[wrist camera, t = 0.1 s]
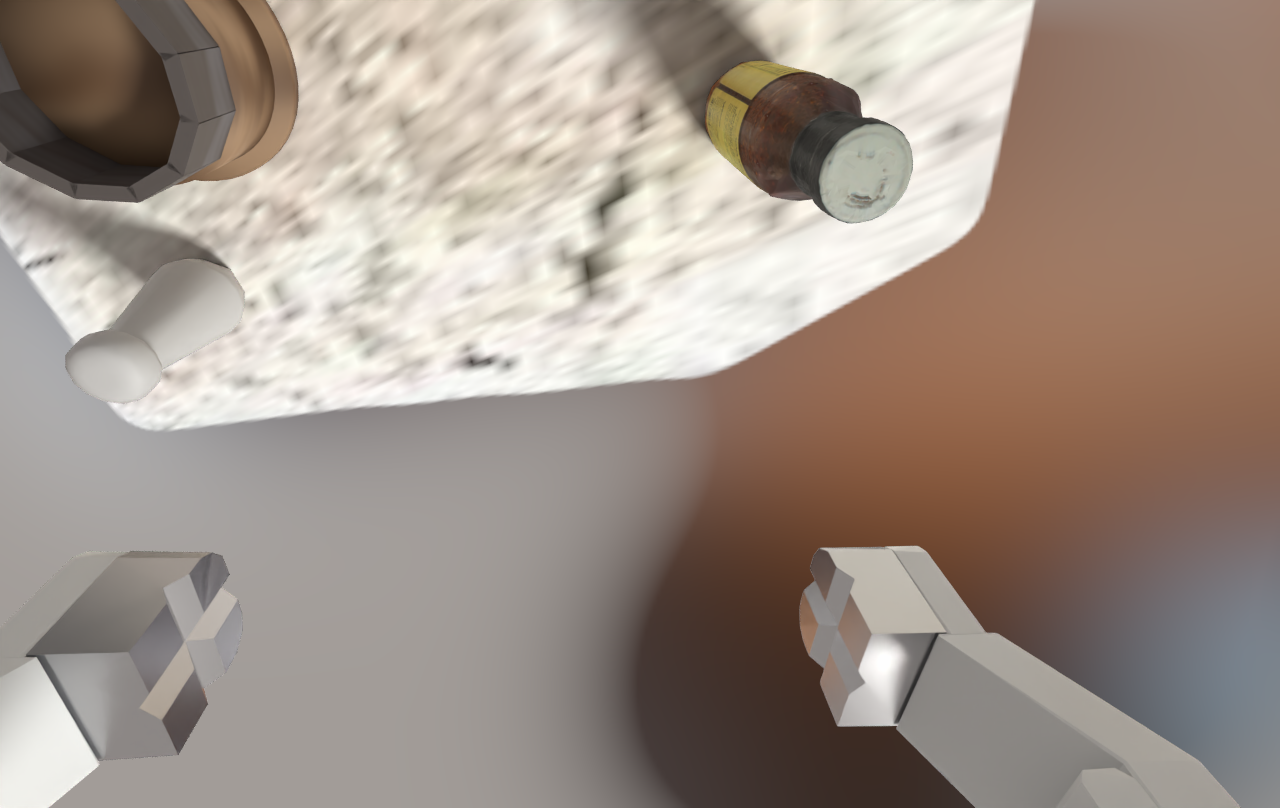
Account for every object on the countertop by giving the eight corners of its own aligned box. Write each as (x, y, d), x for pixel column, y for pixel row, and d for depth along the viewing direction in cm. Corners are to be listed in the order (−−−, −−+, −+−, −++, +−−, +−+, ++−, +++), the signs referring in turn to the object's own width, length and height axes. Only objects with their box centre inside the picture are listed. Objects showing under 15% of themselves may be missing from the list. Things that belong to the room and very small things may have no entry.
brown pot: (-14, -105, 32) (-216, -136, 24) (267, -74, 34) (168, -92, 26) (95, 169, 40) (-29, 217, 32) (319, 184, 42) (256, 232, 34)
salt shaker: (228, 240, 43) (115, 324, 33) (272, 312, 47) (181, 408, 36) (151, 258, 44) (13, 346, 33) (199, 327, 47) (88, 428, 36)
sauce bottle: (749, 176, 44) (850, 289, 28) (682, 120, 41) (750, 209, 25) (814, 94, 41) (968, 166, 25) (747, 30, 39) (870, 63, 22)
